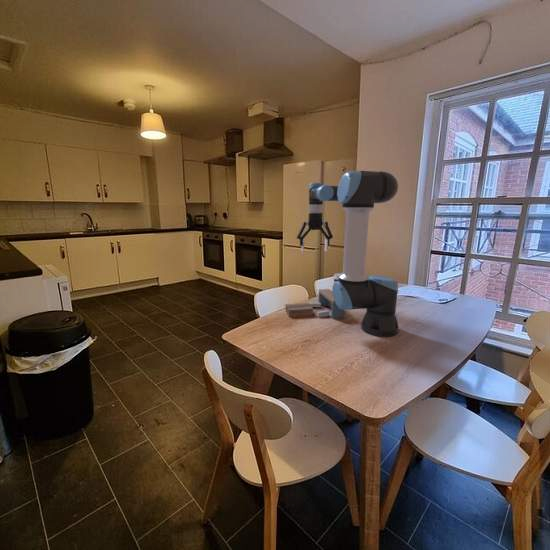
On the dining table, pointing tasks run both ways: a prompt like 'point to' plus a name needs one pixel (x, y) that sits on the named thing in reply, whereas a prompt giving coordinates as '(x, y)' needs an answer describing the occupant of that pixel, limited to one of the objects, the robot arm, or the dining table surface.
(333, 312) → the bridge shelf
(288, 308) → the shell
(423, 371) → the dining table surface
